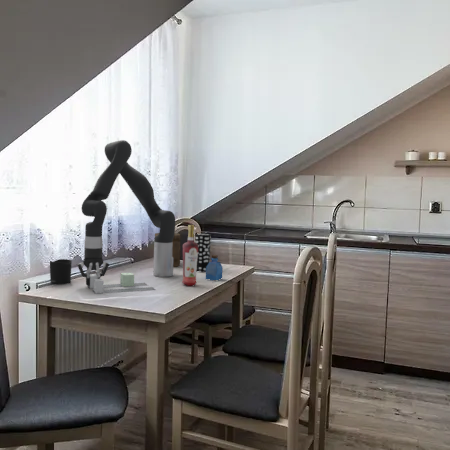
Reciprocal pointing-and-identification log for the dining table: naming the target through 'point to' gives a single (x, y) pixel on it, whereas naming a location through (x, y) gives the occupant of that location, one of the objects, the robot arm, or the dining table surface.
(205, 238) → the spotted tube
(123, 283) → the block
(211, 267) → the perfume bottle
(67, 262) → the pen holder
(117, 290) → the strip
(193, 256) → the liquor
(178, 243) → the wooden container
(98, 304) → the dining table surface
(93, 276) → the strip
